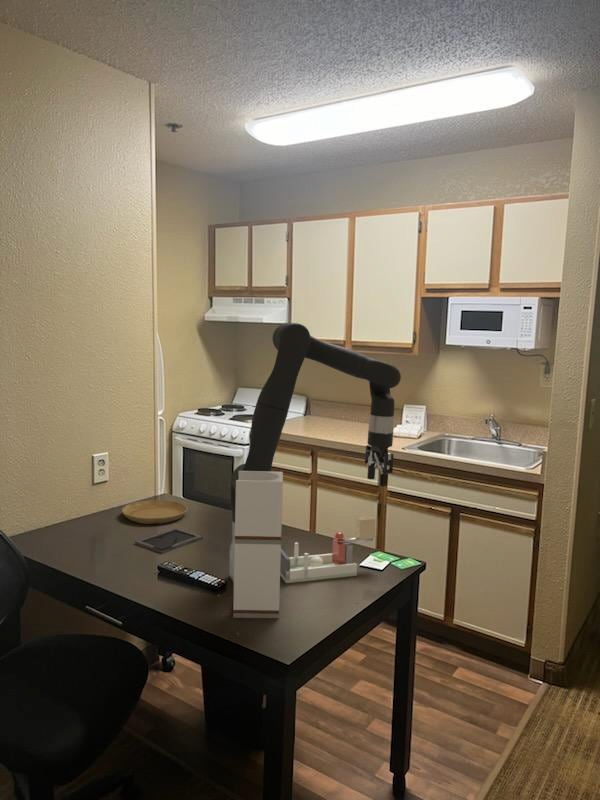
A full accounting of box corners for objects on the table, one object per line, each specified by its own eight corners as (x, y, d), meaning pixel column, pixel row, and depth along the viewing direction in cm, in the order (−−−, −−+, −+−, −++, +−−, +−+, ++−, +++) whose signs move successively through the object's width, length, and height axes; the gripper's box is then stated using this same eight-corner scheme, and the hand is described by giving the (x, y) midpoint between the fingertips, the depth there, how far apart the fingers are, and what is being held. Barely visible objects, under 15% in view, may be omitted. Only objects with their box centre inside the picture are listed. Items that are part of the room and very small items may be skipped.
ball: (312, 572, 179) (312, 559, 179) (307, 567, 183) (308, 554, 183) (325, 571, 181) (325, 558, 180) (320, 566, 184) (320, 553, 184)
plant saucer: (168, 504, 248) (169, 496, 247) (199, 519, 229) (199, 510, 229) (111, 514, 232) (111, 505, 232) (139, 531, 214) (139, 522, 214)
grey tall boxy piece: (278, 599, 163) (282, 471, 159) (278, 618, 153) (282, 481, 149) (236, 598, 163) (238, 470, 159) (233, 617, 152) (235, 480, 148)
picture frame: (162, 555, 193) (202, 540, 208) (162, 549, 193) (202, 534, 208) (134, 545, 201) (175, 532, 215) (134, 539, 201) (175, 526, 215)
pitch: (286, 583, 174) (286, 556, 173) (276, 569, 183) (276, 544, 182) (356, 575, 181) (357, 549, 180) (343, 563, 190) (344, 538, 189)
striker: (337, 567, 181) (339, 523, 180) (331, 561, 186) (332, 517, 184) (374, 563, 185) (376, 520, 184) (367, 557, 190) (369, 515, 188)
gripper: (359, 426, 189) (356, 477, 191) (380, 434, 176) (376, 489, 178) (381, 426, 192) (377, 476, 193) (403, 434, 178) (399, 488, 180)
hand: (376, 482), depth 186 cm, fingers open, 8 cm apart
